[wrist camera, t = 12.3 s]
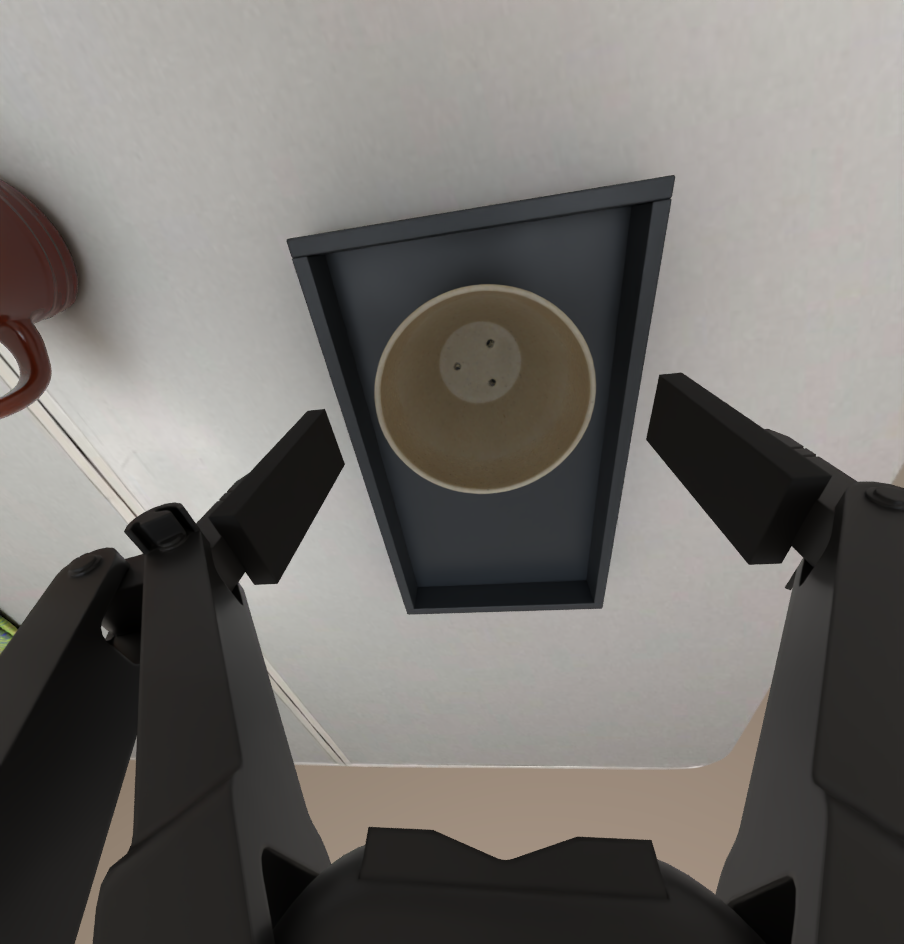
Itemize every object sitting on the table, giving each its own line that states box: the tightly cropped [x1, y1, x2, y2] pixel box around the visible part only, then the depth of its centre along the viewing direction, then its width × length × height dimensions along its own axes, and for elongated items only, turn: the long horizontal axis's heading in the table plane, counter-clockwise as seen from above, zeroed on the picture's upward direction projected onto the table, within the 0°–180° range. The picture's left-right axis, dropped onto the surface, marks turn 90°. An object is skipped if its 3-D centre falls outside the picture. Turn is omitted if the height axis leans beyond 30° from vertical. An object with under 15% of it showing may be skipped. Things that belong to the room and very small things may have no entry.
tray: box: [287, 175, 675, 614], centre depth 25 cm, size 30×18×3 cm, turn 7°
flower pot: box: [375, 284, 596, 494], centre depth 19 cm, size 10×10×7 cm
